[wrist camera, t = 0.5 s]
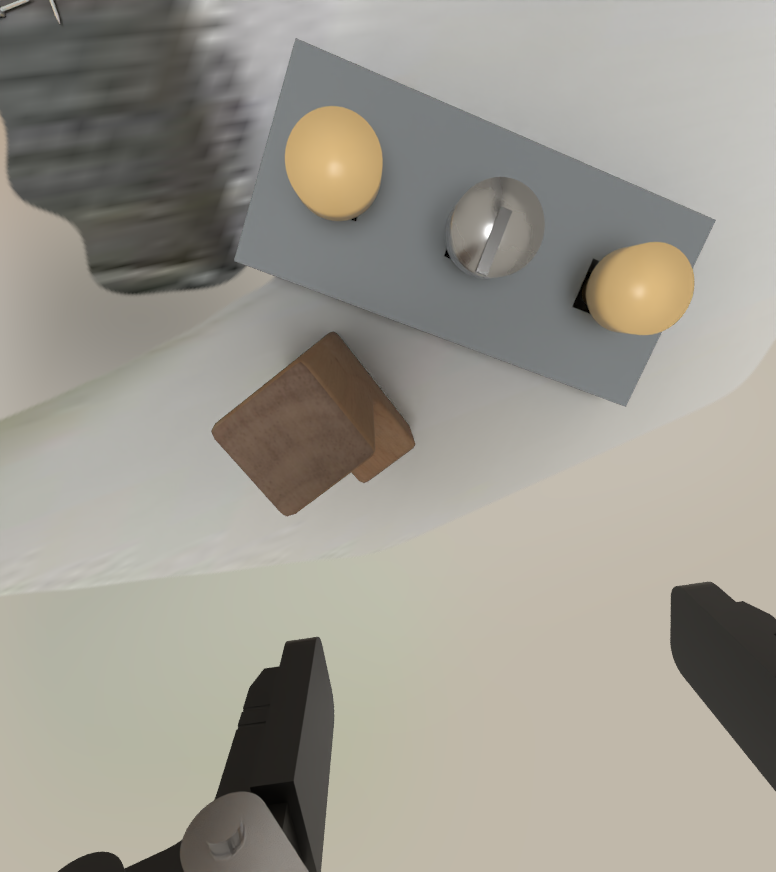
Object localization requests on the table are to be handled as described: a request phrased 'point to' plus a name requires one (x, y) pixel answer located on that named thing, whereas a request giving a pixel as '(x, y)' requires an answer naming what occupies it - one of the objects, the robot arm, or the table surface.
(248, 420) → the wooden block
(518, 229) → the dial middle
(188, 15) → the table surface
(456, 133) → the panel
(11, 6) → the multimeter
